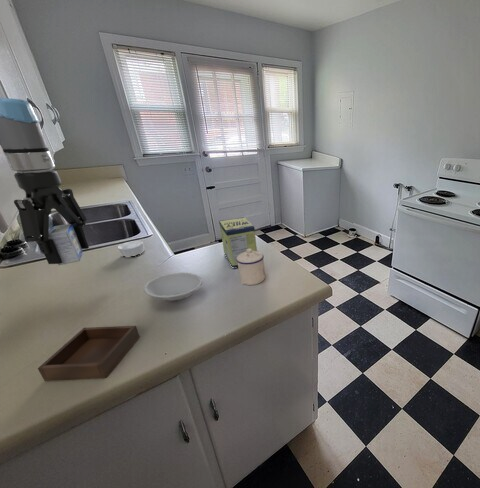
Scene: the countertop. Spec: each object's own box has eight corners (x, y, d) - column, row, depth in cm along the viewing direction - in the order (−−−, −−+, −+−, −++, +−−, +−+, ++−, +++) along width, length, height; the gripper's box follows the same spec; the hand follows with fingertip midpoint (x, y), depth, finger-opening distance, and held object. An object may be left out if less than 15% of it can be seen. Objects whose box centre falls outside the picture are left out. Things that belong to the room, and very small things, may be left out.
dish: (135, 306, 81) (130, 292, 79) (171, 282, 94) (167, 269, 92) (184, 315, 77) (180, 300, 75) (215, 289, 90) (212, 276, 88)
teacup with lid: (270, 279, 96) (268, 249, 92) (248, 288, 90) (244, 257, 86) (252, 268, 104) (249, 240, 99) (230, 276, 98) (226, 247, 93)
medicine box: (80, 261, 72) (68, 231, 69) (58, 266, 70) (44, 234, 67) (83, 251, 78) (72, 223, 75) (62, 255, 76) (50, 226, 73)
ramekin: (126, 260, 110) (123, 250, 109) (116, 255, 115) (113, 245, 113) (149, 252, 117) (146, 243, 115) (139, 248, 122) (136, 239, 120)
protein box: (248, 249, 120) (244, 216, 114) (259, 263, 108) (255, 226, 102) (223, 254, 115) (218, 220, 109) (232, 269, 103) (226, 231, 97)
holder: (44, 381, 57) (37, 368, 56) (88, 338, 69) (83, 327, 67) (106, 377, 58) (100, 365, 56) (139, 336, 69) (136, 325, 68)
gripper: (7, 177, 55) (51, 274, 64) (84, 165, 75) (110, 240, 84) (-33, 178, 55) (17, 275, 64) (56, 165, 75) (84, 241, 83)
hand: (70, 255), depth 74 cm, fingers closed on medicine box, 9 cm apart
